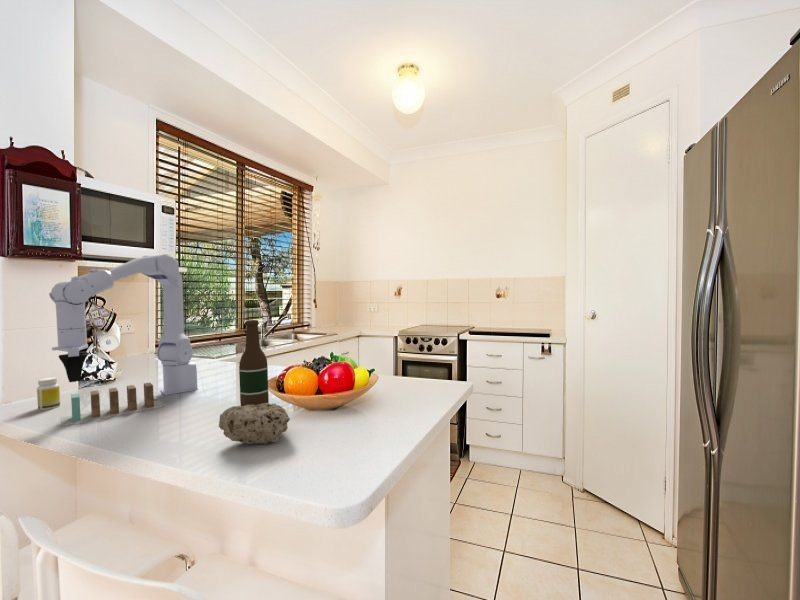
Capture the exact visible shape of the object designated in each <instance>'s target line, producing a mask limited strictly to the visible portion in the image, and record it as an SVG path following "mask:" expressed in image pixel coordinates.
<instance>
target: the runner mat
mask: <svg viewBox="0 0 800 600" xmlns="http://www.w3.org/2000/svg"><path fill="white" fill-rule="evenodd" d="M163 407H165V405H163V403H162V402H161V401H160V400H159V399H157V400H154V407H149V408H147V407H146V405H145V403H144V402H141V403H137V410H133V411H130V410H129V409H128V405H125V406H124V405H123V406H119V413H117V414H111V411H110V408H108V409H100V417H95V418H93V417H92V413H91V412H84V413H80V415H81V420H79V421H74V422H73V421H72V415H68V416H62V417H60V426H61V427H62V426H68V425H72V424H73V425H74V424H78V423H84V422H90V421H94V420H95V421H96V420H99V419H106V418H109V417H110V418H111V417H115V416H120V415H125V414H132V413H137V412H143V411H149V410H153V409H157V408H163Z"/></svg>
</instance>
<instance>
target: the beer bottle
mask: <svg viewBox="0 0 800 600" xmlns="http://www.w3.org/2000/svg"><path fill="white" fill-rule="evenodd" d="M259 325H260V322H259V320H258V319H249V320H245V325H244V326H245V327H246V328H245V329H246V330H245V349H244V351H243V353H242V354H241V358H240V359H239V365H238V368H239V369H238V371H239V373H238V374H239V375H238V376H239V398H240V399H239V401H240V406H246V405H258V404H263V403H269V404H270V401H269V399H270V398H269V375H268V372H269V371H268V358H267V357H266V353H265V352H264V351H263V349H262V348H261V347H262V346H261V343H260V334H259Z"/></svg>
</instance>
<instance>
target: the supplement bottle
mask: <svg viewBox="0 0 800 600" xmlns="http://www.w3.org/2000/svg"><path fill="white" fill-rule="evenodd" d="M37 381H38V383H37V384H38V386H37V387H36V397H37V398H36V399H37V410H39V411H45V410H52V409H56V408H59V407H61V396H60V395H61V391H60V385H59V384H58V378H57V377H55V376H54V377H51V376H50V377H45V378H44V377H43V378H41V379H38V380H37Z"/></svg>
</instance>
